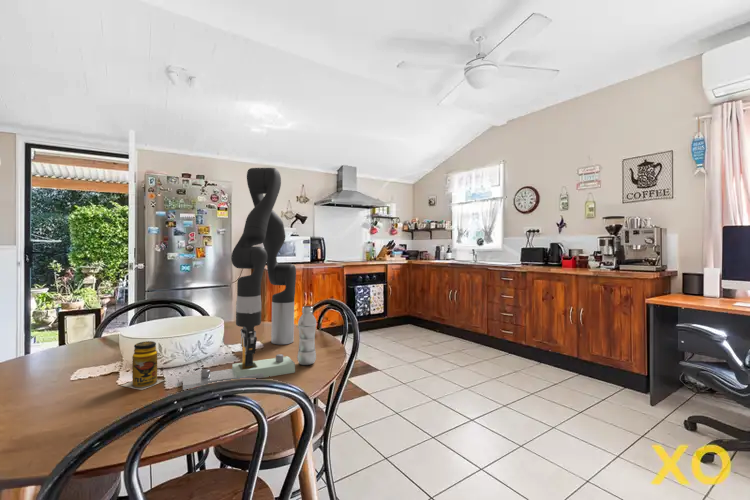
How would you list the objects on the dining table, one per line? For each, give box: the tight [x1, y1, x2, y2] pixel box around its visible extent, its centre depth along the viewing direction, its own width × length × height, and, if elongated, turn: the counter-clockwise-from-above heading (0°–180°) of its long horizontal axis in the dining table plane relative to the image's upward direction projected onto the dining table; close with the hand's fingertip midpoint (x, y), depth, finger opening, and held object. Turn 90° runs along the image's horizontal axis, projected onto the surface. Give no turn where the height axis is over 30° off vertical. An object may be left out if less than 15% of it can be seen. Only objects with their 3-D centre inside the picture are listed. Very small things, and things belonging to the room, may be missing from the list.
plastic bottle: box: [296, 305, 317, 366], centre depth 122 cm, size 6×7×20 cm
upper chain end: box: [231, 353, 296, 378], centre depth 113 cm, size 8×18×5 cm, turn 120°
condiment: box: [120, 340, 165, 391], centre depth 103 cm, size 7×8×12 cm
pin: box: [241, 343, 253, 369], centre depth 111 cm, size 3×3×9 cm
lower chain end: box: [181, 367, 264, 391], centre depth 107 cm, size 8×22×4 cm, turn 120°
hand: (247, 363), depth 111 cm, fingers closed on pin, 3 cm apart
